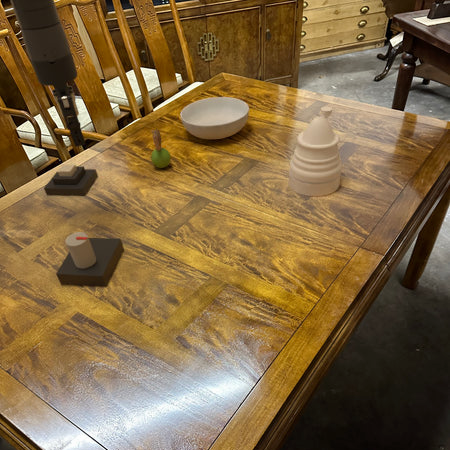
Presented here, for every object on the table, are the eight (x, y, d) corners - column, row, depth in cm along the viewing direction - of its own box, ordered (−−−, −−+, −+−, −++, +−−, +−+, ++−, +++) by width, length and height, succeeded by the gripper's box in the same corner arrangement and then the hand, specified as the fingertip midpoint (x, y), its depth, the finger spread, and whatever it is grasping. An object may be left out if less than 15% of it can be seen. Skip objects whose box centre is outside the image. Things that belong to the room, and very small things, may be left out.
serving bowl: (202, 114, 141) (200, 93, 136) (259, 122, 134) (259, 100, 129) (170, 142, 129) (167, 119, 124) (232, 152, 121) (230, 129, 116)
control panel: (60, 284, 87) (55, 273, 85) (82, 247, 95) (78, 237, 93) (106, 286, 86) (102, 275, 83) (124, 249, 94) (120, 238, 92)
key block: (46, 195, 112) (40, 182, 109) (61, 175, 119) (56, 162, 116) (85, 196, 111) (80, 182, 108) (98, 176, 117) (93, 163, 114)
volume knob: (71, 268, 86) (61, 244, 81) (79, 254, 89) (69, 230, 84) (92, 269, 85) (82, 244, 80) (99, 255, 88) (90, 231, 83)
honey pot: (314, 164, 113) (320, 95, 100) (350, 183, 106) (362, 111, 93) (278, 182, 109) (280, 111, 96) (313, 202, 101) (320, 129, 88)
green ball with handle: (152, 174, 116) (142, 132, 107) (154, 162, 120) (145, 121, 112) (171, 172, 116) (163, 130, 107) (172, 161, 120) (165, 119, 112)
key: (59, 177, 111) (57, 171, 110) (65, 170, 114) (62, 164, 112) (72, 177, 111) (70, 171, 109) (77, 170, 113) (75, 164, 112)
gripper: (28, 46, 82) (57, 127, 94) (30, 67, 72) (63, 155, 84) (66, 39, 83) (91, 120, 95) (74, 59, 74) (100, 146, 85)
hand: (78, 136), depth 89 cm, fingers open, 8 cm apart
